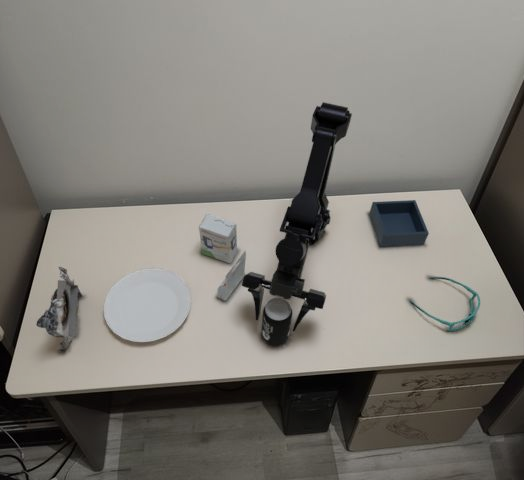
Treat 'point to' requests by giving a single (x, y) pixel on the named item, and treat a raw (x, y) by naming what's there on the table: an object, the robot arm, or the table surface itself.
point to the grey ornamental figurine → (62, 311)
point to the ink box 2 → (232, 278)
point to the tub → (398, 223)
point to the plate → (147, 305)
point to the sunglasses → (466, 320)
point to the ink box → (218, 238)
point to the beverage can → (276, 321)
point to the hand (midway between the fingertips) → (275, 325)
